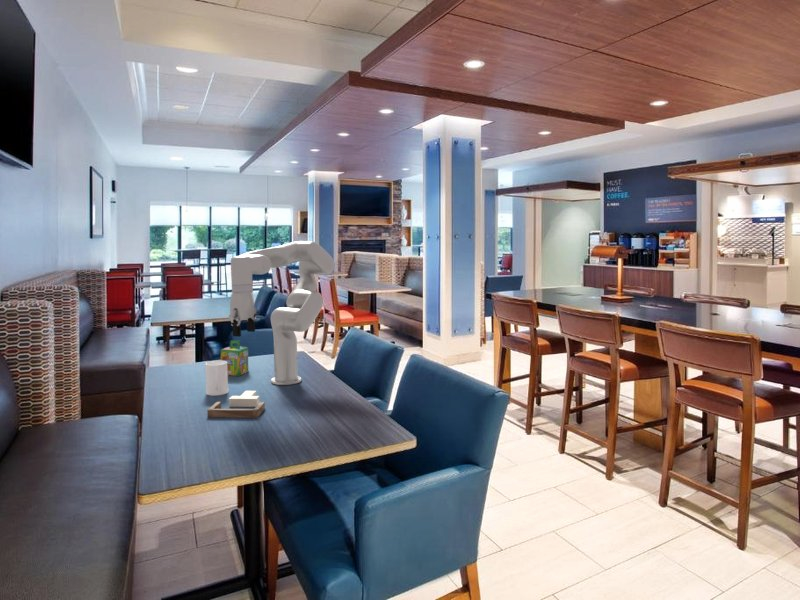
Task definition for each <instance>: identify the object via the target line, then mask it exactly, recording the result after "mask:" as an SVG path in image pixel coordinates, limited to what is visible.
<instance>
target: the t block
mask: <svg viewBox="0 0 800 600" xmlns="http://www.w3.org/2000/svg"><path fill="white" fill-rule="evenodd" d="M260 402H261V401H260V395H257V390H244V392H243V393H242V394H241V395H231V396H230V397H229V398H228V407H230V408H231V407H234V408H235V407H239V408H240V407H242V408H243V407H245V408H247V407H249V408H251V407H252V408H254V407H255V408H256V406H257V405H258V404H259V403H260Z"/></svg>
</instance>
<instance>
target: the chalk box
mask: <svg viewBox="0 0 800 600" xmlns="http://www.w3.org/2000/svg"><path fill="white" fill-rule="evenodd" d="M233 344H236V346H235V345H233ZM220 360H222V361H227V372H228V376H230V375H231V376H232V377H240V376H242V375H244V374H246V373H248V372H249V347H247V346H241V340H230V341H229V346H227V347H224V348H222V349H220ZM247 371H248V372H247ZM245 372H246V373H245Z"/></svg>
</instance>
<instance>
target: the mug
mask: <svg viewBox="0 0 800 600" xmlns="http://www.w3.org/2000/svg"><path fill="white" fill-rule="evenodd" d="M228 378H229V375H228V372H227V361H222V360H221V359H220V360H212V361H207V362H205V384H206V385H205V394H206V395H207V396H222V395H226V394H228V393H229V391H230V389H229V379H228Z"/></svg>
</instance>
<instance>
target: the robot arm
mask: <svg viewBox="0 0 800 600" xmlns="http://www.w3.org/2000/svg"><path fill="white" fill-rule="evenodd" d="M296 263H298V269H299V271H298V272H299V281H298V282H297V284H296V285H295V287H294V288H293V290H292V291H291V292H290V294H289V295H288V297H287V298H286V302H285V303H286V307H285V306H282V307H277V308H275V309H274V310H273V311H272V313H271V314H270V323H271V328H272V334H273V362H274V365H273V366H274V377H272V378H271V379H270V383H271V384H272V385H277V386H291V385H296V384H299V383H301V381H302V377H301V376H299V375H298V340H297V336H296V333H295V332H298V333H299V332H300V333H301V332H302V333H304V332H306V331H308V329H310V327H311V325H312V324H313V323H315V320H316V319H317V317H318V315H319V313H320V312H321V311H322V308H323V305H324V298H323V295H322V294H321V292H319V291H317V289H318V284H317V280H316V278H315V275H324V276H325V275H330V274H332V273H333V272H334V270H335V266H336V264H335V263H336V262H335V260H334V258H333V256H331V254H330V253H329V252H327V250H326V249H324V247H323V246H321V245H320V244H319V243H317V242H315V241H312V240H311V241H310V240H309V241H308V240H305V241H304V240H298V241H297V240H296V241H292V242H289V243H286V244H282V245H278V246H274V247H268V248H264V249H259V250H258V249H257V250H253V251H249V252H245V253H243V254H240V255H236V256H232V257H231V258H230V273H231V275H230V276H231V277H230V279H231V280H230V281H231V295H230V301H229V302H230V303H229V305H230V306H229V314H228V318H229V323H230V325H231V326H232V337H241V336H242V326H241V322H242V321H243V320H244V321H245V320H247V321H246V331H247V332H249V333H250V332H251V333H254V332H256V326H255V325H256V324H255V323H256V322H255V321H256V317H257V308H256V307H255V300H254V291H253V289H254V288H253V287H254V286H253V275H265V274H267V273H269V272H270V271H271V269H272V268H273V269H274V268H276V269H277V268H283V267H287V266H290V265H292V264H296Z"/></svg>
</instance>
